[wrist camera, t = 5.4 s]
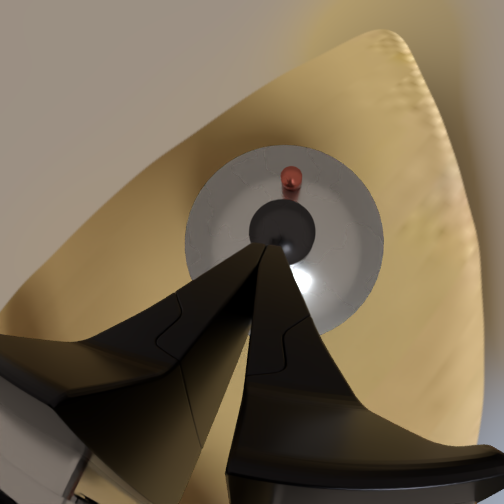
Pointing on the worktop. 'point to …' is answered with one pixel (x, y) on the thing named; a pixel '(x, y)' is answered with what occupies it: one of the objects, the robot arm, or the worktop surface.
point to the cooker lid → (293, 225)
